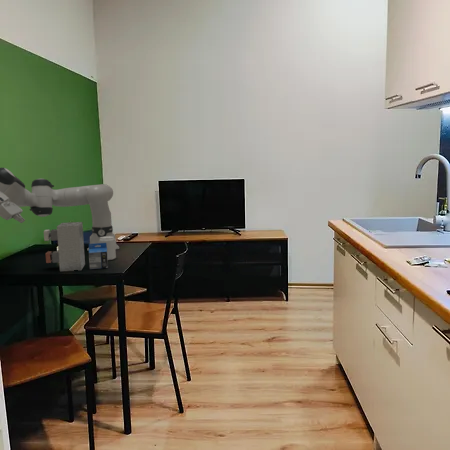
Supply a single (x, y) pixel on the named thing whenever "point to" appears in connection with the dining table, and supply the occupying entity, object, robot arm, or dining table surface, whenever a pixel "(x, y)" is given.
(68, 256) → the box
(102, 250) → the label tape box
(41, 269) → the dining table surface
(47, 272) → the dining table surface
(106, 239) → the beverage can
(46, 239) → the white key
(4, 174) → the robot arm
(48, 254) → the brown block
